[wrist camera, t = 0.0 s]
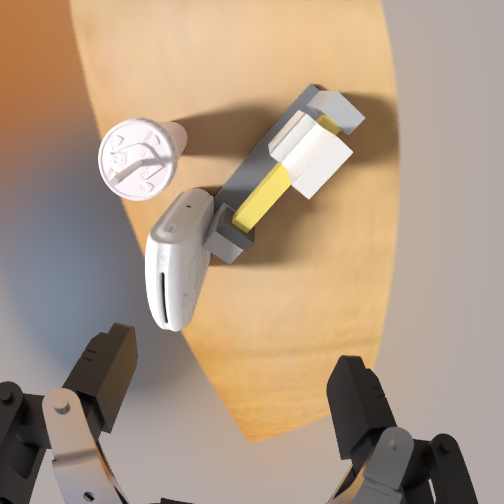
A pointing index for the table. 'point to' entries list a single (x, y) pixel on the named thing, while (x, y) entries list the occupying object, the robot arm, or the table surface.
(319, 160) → the white stepped block
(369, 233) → the table surface
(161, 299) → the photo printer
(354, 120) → the slider rail
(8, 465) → the robot arm
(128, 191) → the smoothie
